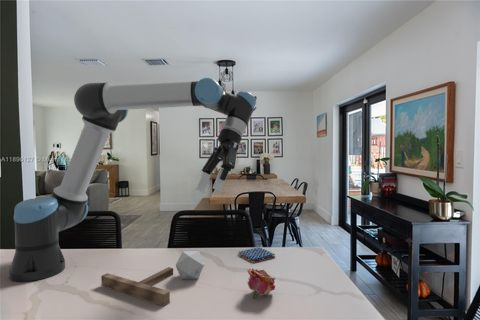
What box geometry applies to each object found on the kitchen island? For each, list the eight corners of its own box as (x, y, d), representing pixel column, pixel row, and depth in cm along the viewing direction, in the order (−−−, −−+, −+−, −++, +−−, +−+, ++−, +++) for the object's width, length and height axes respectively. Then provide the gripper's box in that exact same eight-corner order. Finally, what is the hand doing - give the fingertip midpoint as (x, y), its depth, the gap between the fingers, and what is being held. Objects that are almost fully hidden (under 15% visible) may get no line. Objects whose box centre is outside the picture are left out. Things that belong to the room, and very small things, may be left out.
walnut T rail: (101, 285, 89) (101, 275, 89) (143, 266, 103) (143, 258, 103) (164, 306, 77) (164, 294, 77) (201, 281, 91) (201, 271, 91)
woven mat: (259, 250, 120) (259, 245, 120) (276, 259, 111) (276, 253, 111) (236, 256, 114) (236, 250, 114) (252, 265, 105) (252, 259, 105)
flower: (262, 302, 75) (274, 274, 78) (234, 287, 80) (246, 261, 83) (272, 308, 82) (282, 281, 85) (245, 294, 87) (256, 269, 90)
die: (191, 288, 88) (209, 258, 91) (166, 271, 90) (185, 242, 92) (194, 286, 96) (211, 258, 99) (172, 271, 98) (189, 244, 100)
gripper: (260, 131, 94) (235, 194, 88) (224, 144, 116) (202, 195, 109) (240, 119, 92) (213, 183, 85) (208, 134, 113) (184, 186, 106)
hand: (207, 190), depth 97 cm, fingers open, 13 cm apart
